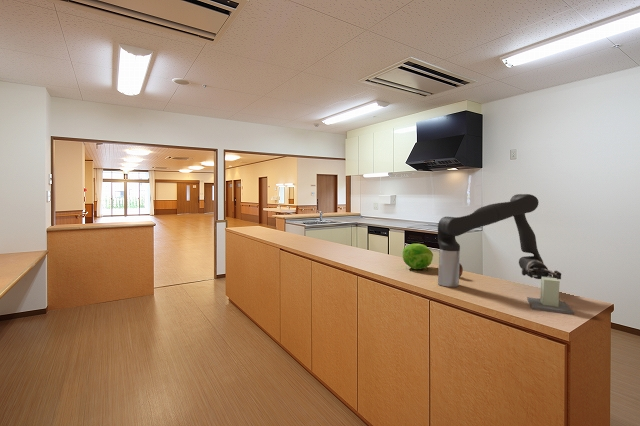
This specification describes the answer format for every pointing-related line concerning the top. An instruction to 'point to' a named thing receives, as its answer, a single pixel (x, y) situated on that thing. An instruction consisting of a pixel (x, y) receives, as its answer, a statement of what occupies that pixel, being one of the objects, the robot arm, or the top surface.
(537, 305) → the charcoal mat
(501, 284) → the top surface
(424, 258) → the lettuce
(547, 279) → the sage block
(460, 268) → the tin
